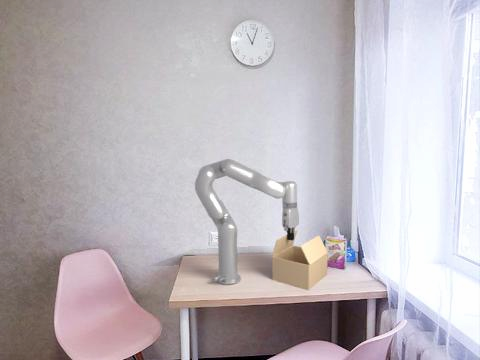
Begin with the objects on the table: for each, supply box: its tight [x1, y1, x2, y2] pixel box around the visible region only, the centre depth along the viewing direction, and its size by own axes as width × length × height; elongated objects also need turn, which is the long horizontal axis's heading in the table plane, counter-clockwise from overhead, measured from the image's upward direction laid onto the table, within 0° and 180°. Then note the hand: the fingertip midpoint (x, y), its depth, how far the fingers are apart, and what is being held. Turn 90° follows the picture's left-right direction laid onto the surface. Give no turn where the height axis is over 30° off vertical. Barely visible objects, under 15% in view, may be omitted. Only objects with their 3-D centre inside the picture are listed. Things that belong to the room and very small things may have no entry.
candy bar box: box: [324, 235, 348, 270], centre depth 173 cm, size 11×5×16 cm, turn 59°
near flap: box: [299, 235, 328, 265], centre depth 155 cm, size 21×10×1 cm
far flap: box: [271, 230, 298, 257], centre depth 165 cm, size 21×10×1 cm
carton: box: [271, 245, 328, 291], centre depth 160 cm, size 22×20×12 cm
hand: (290, 239), depth 163 cm, fingers closed
